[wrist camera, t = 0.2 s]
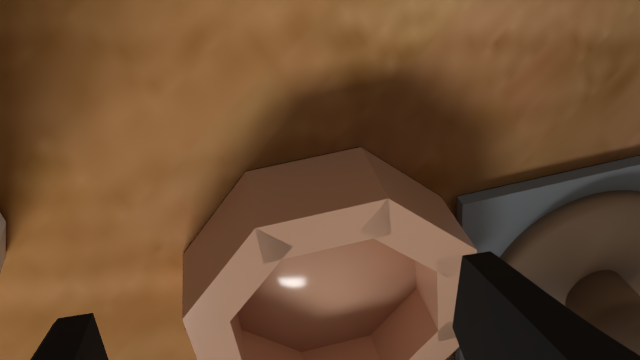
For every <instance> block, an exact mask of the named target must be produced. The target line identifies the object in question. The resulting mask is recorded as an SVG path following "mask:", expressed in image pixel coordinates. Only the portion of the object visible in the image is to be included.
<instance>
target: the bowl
mask: <svg viewBox="0 0 640 360" xmlns="http://www.w3.org/2000/svg"><path fill="white" fill-rule="evenodd" d="M476 253H477V249H476V248H475V246H474V245H473V243H472V242H471V240H470V239H469V237H468V236H467V235H466V233H465V232H464V230H463V229H462V227H461V226H460V224H459V223H458V221H457V220H456V218H455V217H454V215H453V214H452V213H451V211H450V210H449V208H448V207H447V205H446V204H445V202H444V201H443V199H442V198H441V196H439V195H437V194H436V193H434V192H432V191H431V190H429V189H428V188H426V187H424V186H423V185H421V184H420V183H418V182H416V181H415V180H413V179H412V178H410V177H408V176H407V175H405V174H403V173H402V172H400V171H399V170H397V169H395V168H394V167H392V166H391V165H389V164H387V163H386V162H384V161H383V160H381V159H379V158H378V157H376V156H374V155H373V154H371V153H370V152H368V151H366V150H365V149H363V148H362V147H359V148H354V149H350V150H345V151H340V152H336V153H331V154H326V155H322V156H317V157H312V158H307V159H303V160H298V161H293V162H289V163H284V164H279V165H275V166H270V167H265V168H261V169H256V170H251V171H246V172H245V173H244V174H243V176H242V177H241V178H240V180H239V181H238V182H237V184H236V185H235V186H234V187H233V189H232V190H231V191H230V193H229V194H228V195H227V197H226V198H225V199H224V201H223V202H222V203H221V205H220V206H219V207H218V209H217V210H216V211H215V213H214V214H213V215H212V217H211V218H210V219H209V221H208V222H207V223H206V225H205V226H204V227H203V229H202V230H201V231H200V233H199V234H198V235H197V236H196V238H195V239H194V240H193V242H192V243H191V244H190V246H189V247H188V248H187V250H186V251H185V252H184V254H183V308H182V319H183V322H184V325H185V327H186V330H187V333H188V335H189V338H190V341H191V344H192V346H193V349H194V352H195V354H196V357H197V360H446V359H447V358H448V357H449V356H450V355H451V354H452V353H453V352H454V351H455V350H456V349H457V348H458V347H459V344H458V341H457V338H456V336H455V333H454V331H453V328H452V325H453V318H454V311H455V304H456V296H457V289H458V282H459V275H460V268H461V261H462V256H463V255H469V254H476Z"/></svg>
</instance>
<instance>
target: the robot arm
mask: <svg viewBox="0 0 640 360" xmlns="http://www.w3.org/2000/svg"><path fill="white" fill-rule="evenodd" d="M452 328H453V331H454V333H455V336H456V338H457V341H458V344H459V346H460V349H461V352H462V354H463V357H464V359H465V360H640V355H638V354H636V353H635V352H633V351H632V350H630V349H629V348H627V347H625V346H624V345H622V344H621V343H619V342H618V341H616V340H614V339H613V338H611V337H610V336H608V335H607V334H605V333H604V332H602V331H601V330H599V329H598V328H596V327H595V326H593V325H592V324H590V323H589V322H587V321H586V320H584V319H583V318H581V317H580V316H579V315H577V314H576V313H574V312H573V311H571V310H570V309H569V308H567V307H566V306H564V305H563V304H562V303H560V302H559V301H557V300H556V299H555V298H553V297H552V296H551V295H549V294H548V293H546V292H545V291H544V290H542V289H541V288H540V287H538V286H537V285H536V284H534V283H533V282H532V281H530V280H529V279H528V278H526V277H525V276H524V275H522V274H521V273H520V272H518V271H517V270H516V269H514V268H513V267H512V266H510V265H509V264H507V263H506V262H505V261H503V260H502V259H501V258H499V257H498V256H496V255H495V254H494V253H492V252H491V251H488V252H482V253H476V254H469V255H463V256H462V261H461V268H460V275H459V282H458V289H457V296H456V304H455V311H454V318H453V325H452ZM31 360H108V357H107V354H106V351H105V348H104V345H103V342H102V339H101V336H100V333H99V330H98V327H97V324H96V321H95V318H94V315H93V313H90V314H83V315H77V316H71V317H64V318H58V319H57V320H56V322H55V323H54V324H53V325H52V327H51V328H50V330H49V332H48V333H47V335H46V336H45V338H44V339H43V341H42V343H41V344H40V346H39V347H38V349H37V350H36V352H35V353H34V355H33V357H32V358H31Z"/></svg>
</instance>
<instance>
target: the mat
mask: <svg viewBox="0 0 640 360" xmlns="http://www.w3.org/2000/svg"><path fill="white" fill-rule="evenodd" d="M615 190H630V191H639V192H640V155H639V156H635V157H630V158H626V159H622V160H617V161H613V162H608V163H604V164H599V165H595V166H591V167H586V168H582V169H577V170H573V171H568V172H564V173H560V174H555V175H551V176H546V177H542V178H537V179H533V180H529V181H524V182H520V183H515V184H511V185H506V186H502V187H498V188H493V189H489V190H484V191H480V192H475V193H471V194H466V195H462V196H458V197H457V221H458V223H459V224H460V226H461V227H462V229H463V230H464V232H465V233H466V235H467V236H468V237H469V239H470V240H471V242H472V243H473V245H474V246H475V248H476V249H477V253H482V252H488V251H491V252H492V253H494V254H495V255H496V256H498V257H499V258H500V256H501V255H502V254H503V252H504V251H505V250H506V248H507V247H508V246H509V245H510V244H511V243H512V242H513V241H514V240H515V239H516V238H517V237H518V236H519V235H520V234H521V233H522V232H523V231H525V230H526V229H527V228H528V227H529V226H531V225H532V224H533V223H535V222H536V221H537V220H539V219H540V218H542V217H543V216H545V215H546V214H548V213H550V212H551V211H553V210H555V209H557V208H559V207H561V206H563V205H565V204H567V203H569V202H572V201H574V200H577V199H579V198H582V197H585V196H589V195H592V194H596V193H601V192H606V191H615ZM455 360H465V359H464V357H463V354H462V352H461V349H460V346H459V347H458V348H457V349H456V350H455Z"/></svg>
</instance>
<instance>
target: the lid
mask: <svg viewBox="0 0 640 360" xmlns="http://www.w3.org/2000/svg"><path fill="white" fill-rule="evenodd" d="M500 258H501V259H502V260H503V261H505V262H506V263H507V264H509V265H510V266H512V267H513V268H514V269H516V270H517V271H518V272H520V273H521V274H522V275H524V276H525V277H526V278H528V279H529V280H530V281H532V282H533V283H534V284H536V285H537V286H538V287H540V288H541V289H542V290H544V291H545V292H546V293H548V294H549V295H551V296H552V297H553V298H555V299H556V300H557V301H559V302H560V303H562V304H563V305H564V306H566V307H567V308H569V309H570V310H571V311H573V312H574V313H576V314H577V315H579V316H580V317H581V318H583V319H584V320H586V321H587V322H589V323H590V324H592V325H593V326H595V327H596V328H598V329H599V330H601V331H602V332H604V333H605V334H607V335H608V336H610V337H611V338H613V339H614V340H616V341H618V342H619V343H621V344H622V345H624V346H625V347H627V348H629V349H630V350H632V351H633V352H635V353H636V354H638V355H640V192H639V191H630V190H615V191H606V192H601V193H596V194H592V195H589V196H585V197H582V198H579V199H577V200H574V201H572V202H569V203H567V204H565V205H563V206H561V207H559V208H557V209H555V210H553V211H551V212H550V213H548V214H546V215H545V216H543V217H542V218H540V219H539V220H537V221H536V222H535V223H533V224H532V225H531V226H529V227H528V228H527V229H526V230H525V231H523V232H522V233H521V234H520V235H519V236H518V237H517V238H516V239H515V240H514V241H513V242H512V243H511V244H510V245H509V246H508V247H507V248H506V250H505V251H504V252H503V254H502V255H501V256H500Z"/></svg>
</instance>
